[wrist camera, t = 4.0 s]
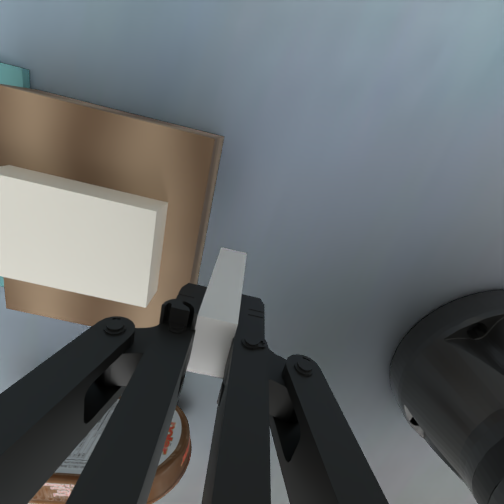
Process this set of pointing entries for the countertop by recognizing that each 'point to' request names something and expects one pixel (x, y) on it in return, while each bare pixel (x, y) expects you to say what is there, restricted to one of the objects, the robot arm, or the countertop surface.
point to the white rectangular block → (80, 236)
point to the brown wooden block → (113, 187)
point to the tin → (65, 477)
